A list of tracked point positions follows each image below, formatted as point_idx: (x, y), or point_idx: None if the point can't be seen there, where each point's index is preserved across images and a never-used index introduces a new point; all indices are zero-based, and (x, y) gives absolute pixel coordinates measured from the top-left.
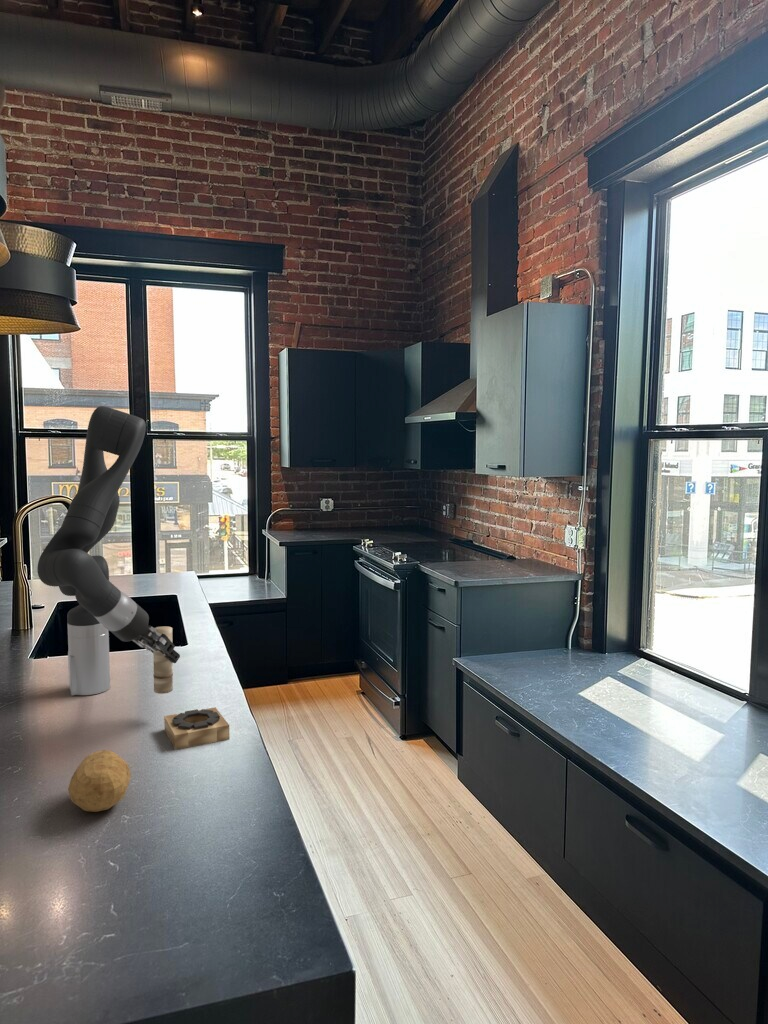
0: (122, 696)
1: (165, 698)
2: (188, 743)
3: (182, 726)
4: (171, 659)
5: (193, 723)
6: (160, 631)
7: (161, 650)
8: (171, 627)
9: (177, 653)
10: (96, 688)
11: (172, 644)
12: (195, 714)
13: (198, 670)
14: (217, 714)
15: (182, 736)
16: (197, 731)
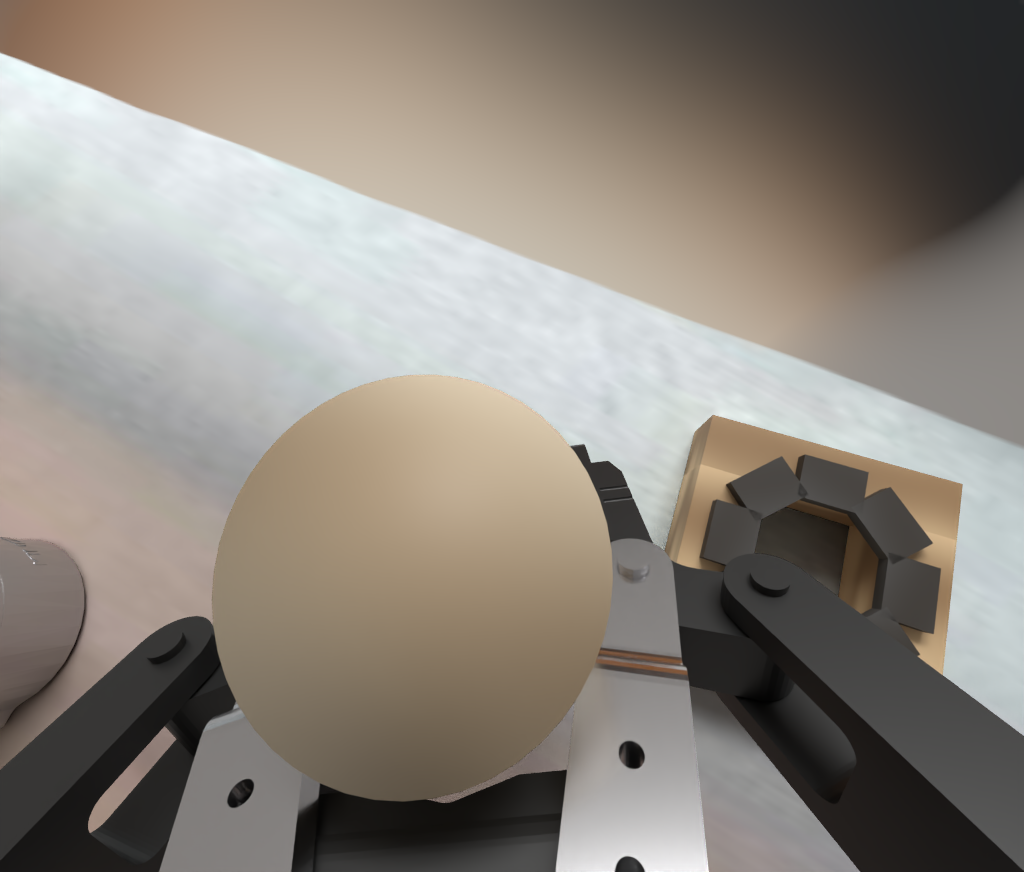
0: (189, 564)
1: None
2: None
3: None
4: None
5: (885, 614)
6: (557, 722)
7: (809, 800)
8: (445, 378)
9: (590, 465)
10: (53, 637)
11: (871, 636)
12: (756, 533)
13: (205, 228)
14: (840, 467)
15: None
16: (943, 631)
